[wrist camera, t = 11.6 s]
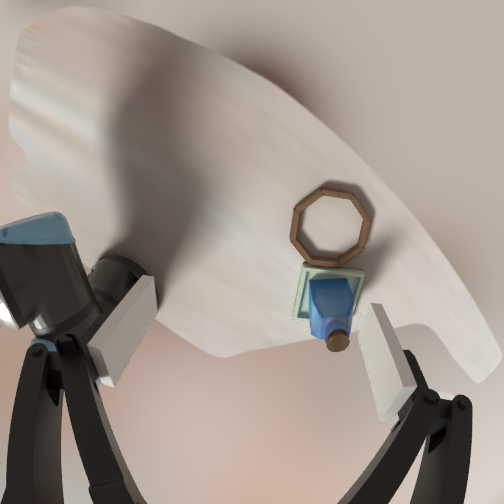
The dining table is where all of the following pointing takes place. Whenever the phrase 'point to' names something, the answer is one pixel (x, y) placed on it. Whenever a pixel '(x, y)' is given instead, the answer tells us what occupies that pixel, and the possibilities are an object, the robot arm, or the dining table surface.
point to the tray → (323, 272)
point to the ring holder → (350, 253)
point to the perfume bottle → (331, 311)
